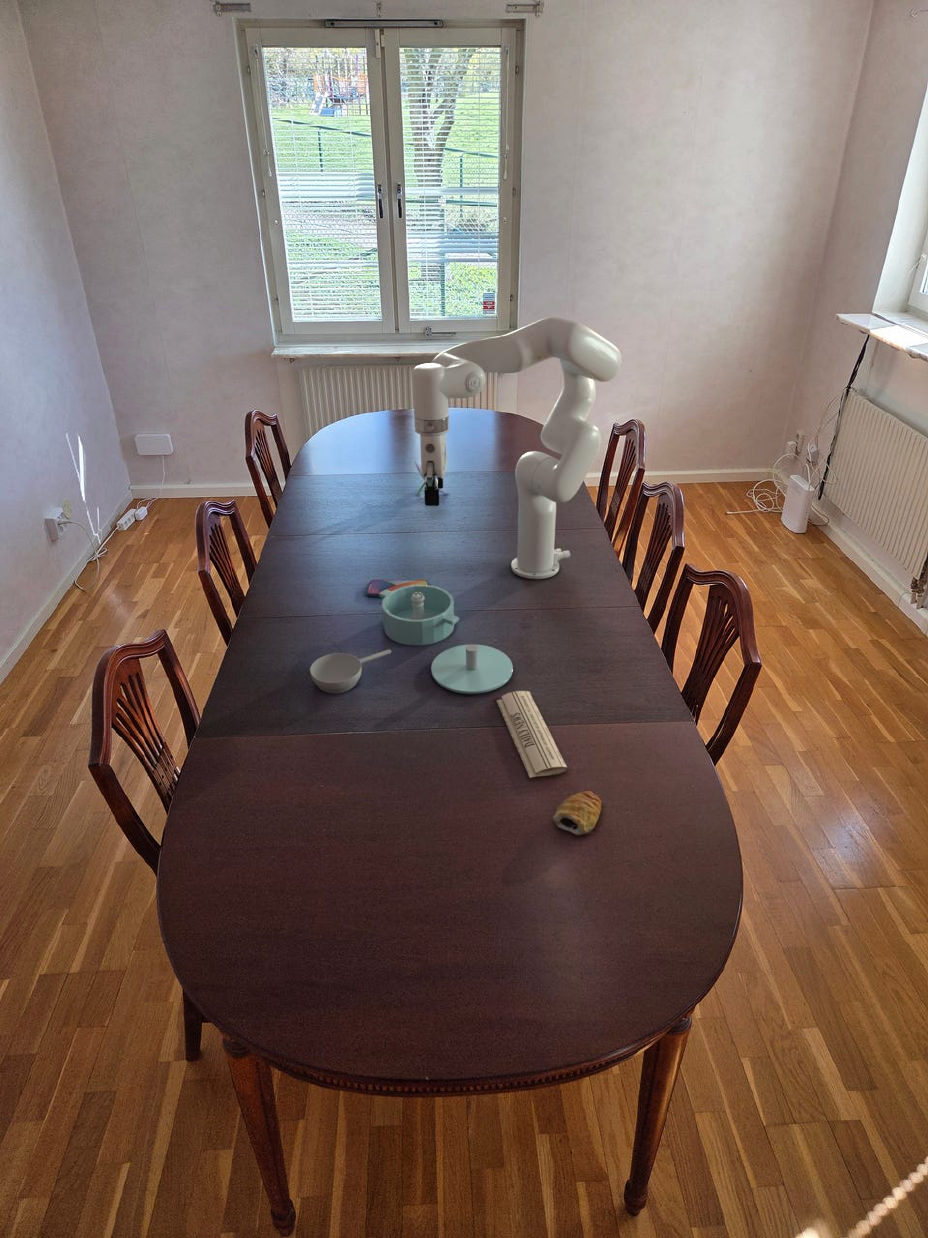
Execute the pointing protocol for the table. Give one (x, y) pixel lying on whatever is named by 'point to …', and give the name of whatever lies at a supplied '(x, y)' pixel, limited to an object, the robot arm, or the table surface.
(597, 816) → the pastry
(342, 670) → the saucepan
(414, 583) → the smartphone
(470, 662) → the lid
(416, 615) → the rook chess piece
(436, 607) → the pot
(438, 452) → the robot arm
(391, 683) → the table surface
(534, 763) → the newspaper
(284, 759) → the table surface
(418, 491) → the water lily
